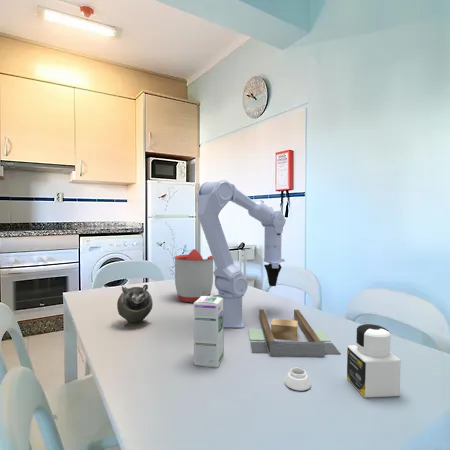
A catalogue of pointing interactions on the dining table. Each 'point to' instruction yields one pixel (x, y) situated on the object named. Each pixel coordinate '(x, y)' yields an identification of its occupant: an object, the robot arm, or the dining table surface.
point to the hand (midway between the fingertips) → (272, 285)
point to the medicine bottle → (373, 363)
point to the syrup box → (208, 331)
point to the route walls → (301, 322)
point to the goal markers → (259, 336)
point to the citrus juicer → (193, 276)
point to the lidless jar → (297, 379)
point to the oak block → (284, 329)
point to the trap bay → (294, 348)
